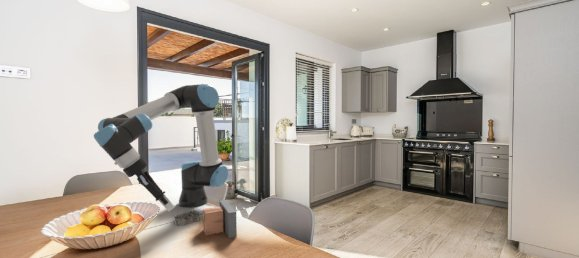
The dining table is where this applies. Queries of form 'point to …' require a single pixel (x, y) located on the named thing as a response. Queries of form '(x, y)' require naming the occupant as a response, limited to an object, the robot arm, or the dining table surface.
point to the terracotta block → (212, 220)
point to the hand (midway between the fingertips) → (171, 208)
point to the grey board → (229, 219)
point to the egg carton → (187, 217)
